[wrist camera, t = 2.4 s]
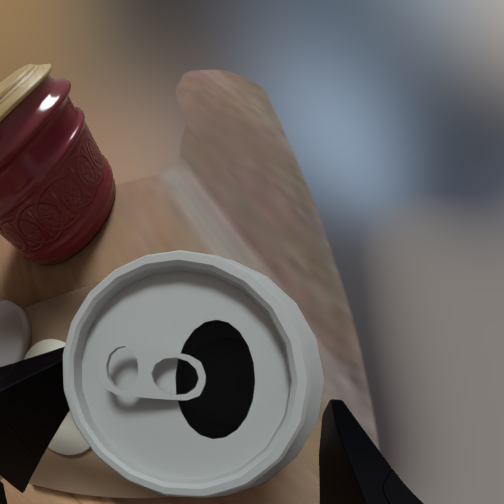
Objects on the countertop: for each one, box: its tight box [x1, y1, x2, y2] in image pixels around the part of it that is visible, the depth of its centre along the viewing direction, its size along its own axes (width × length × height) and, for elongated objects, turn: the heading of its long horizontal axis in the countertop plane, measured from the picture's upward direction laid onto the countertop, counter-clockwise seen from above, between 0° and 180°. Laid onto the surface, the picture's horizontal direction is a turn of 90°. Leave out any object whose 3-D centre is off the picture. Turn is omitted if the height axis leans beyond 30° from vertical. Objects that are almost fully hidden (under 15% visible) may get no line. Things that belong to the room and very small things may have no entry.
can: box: [63, 250, 324, 498], centre depth 10 cm, size 8×8×12 cm
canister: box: [0, 64, 115, 265], centre depth 15 cm, size 13×13×18 cm
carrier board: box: [0, 281, 174, 498], centre depth 13 cm, size 16×16×3 cm
